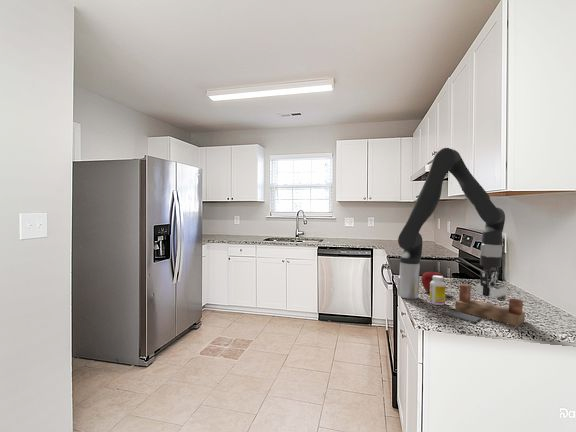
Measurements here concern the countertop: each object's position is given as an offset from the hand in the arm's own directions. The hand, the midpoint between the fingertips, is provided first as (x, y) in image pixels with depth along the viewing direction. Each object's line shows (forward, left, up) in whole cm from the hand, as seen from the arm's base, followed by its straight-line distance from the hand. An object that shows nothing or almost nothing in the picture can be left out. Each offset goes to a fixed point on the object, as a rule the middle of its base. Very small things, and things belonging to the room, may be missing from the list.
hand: (488, 294), depth 133 cm
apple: (-32, +16, -9) cm, 36 cm away
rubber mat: (-6, -11, -9) cm, 15 cm away
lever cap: (+1, 0, 0) cm, 1 cm away
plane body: (0, 0, -9) cm, 9 cm away
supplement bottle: (-21, -1, -9) cm, 23 cm away
